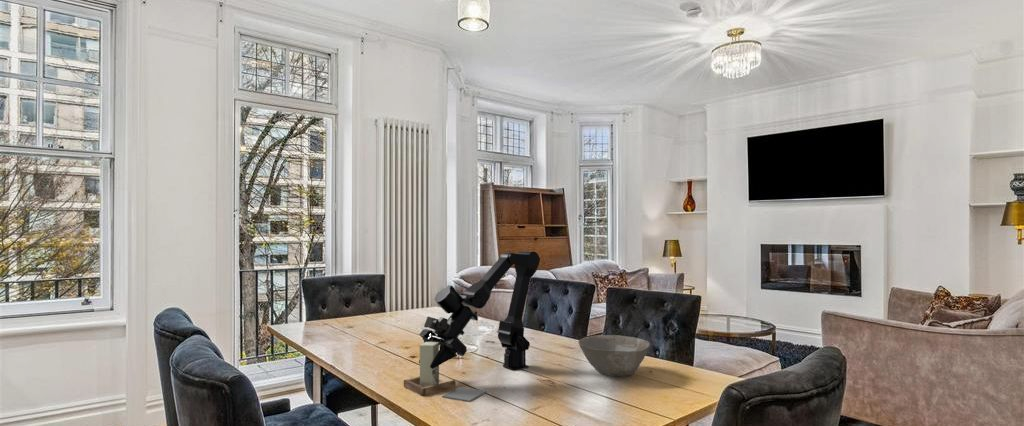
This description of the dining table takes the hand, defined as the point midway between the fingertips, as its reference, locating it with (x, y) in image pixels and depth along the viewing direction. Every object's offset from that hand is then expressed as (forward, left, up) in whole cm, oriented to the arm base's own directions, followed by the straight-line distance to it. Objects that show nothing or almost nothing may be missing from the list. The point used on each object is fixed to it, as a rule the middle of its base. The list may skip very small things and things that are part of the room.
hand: (425, 365), depth 153 cm
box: (-1, 0, -7) cm, 7 cm away
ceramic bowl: (-55, +22, -7) cm, 60 cm away
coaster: (-6, +12, -7) cm, 15 cm away
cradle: (-1, 0, -7) cm, 7 cm away
